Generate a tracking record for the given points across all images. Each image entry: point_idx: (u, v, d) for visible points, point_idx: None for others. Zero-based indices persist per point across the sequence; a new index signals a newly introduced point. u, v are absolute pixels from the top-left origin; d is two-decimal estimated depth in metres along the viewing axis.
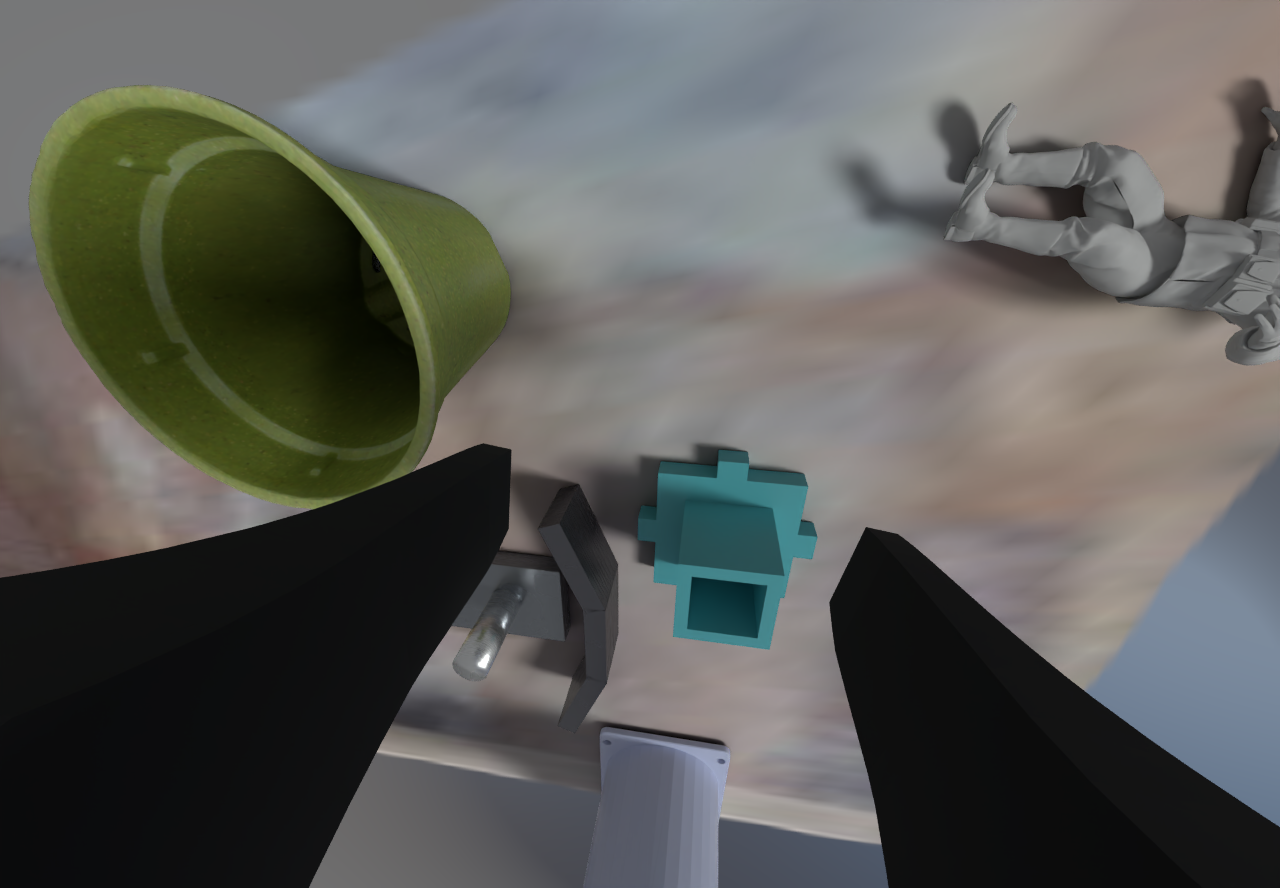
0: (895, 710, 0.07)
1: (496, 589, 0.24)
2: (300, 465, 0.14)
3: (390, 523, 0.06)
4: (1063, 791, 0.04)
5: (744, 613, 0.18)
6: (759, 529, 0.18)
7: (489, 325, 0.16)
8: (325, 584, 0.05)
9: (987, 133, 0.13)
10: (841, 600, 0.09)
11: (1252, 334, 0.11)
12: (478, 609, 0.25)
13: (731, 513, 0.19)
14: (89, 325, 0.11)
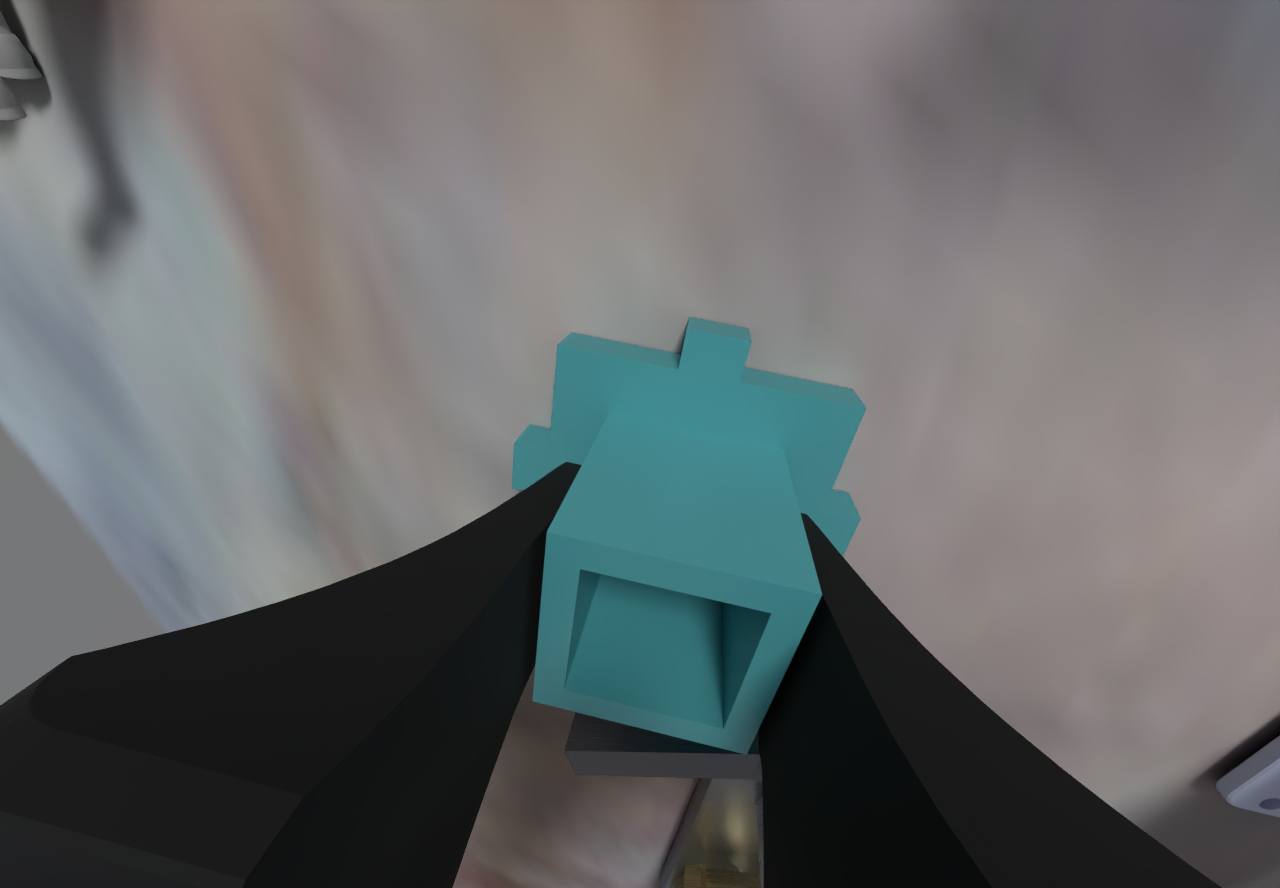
0: (781, 683, 0.07)
1: (754, 809, 0.15)
2: None
3: (518, 553, 0.06)
4: (875, 745, 0.04)
5: None
6: None
7: None
8: (481, 622, 0.05)
9: None
10: None
11: None
12: None
13: None
14: None
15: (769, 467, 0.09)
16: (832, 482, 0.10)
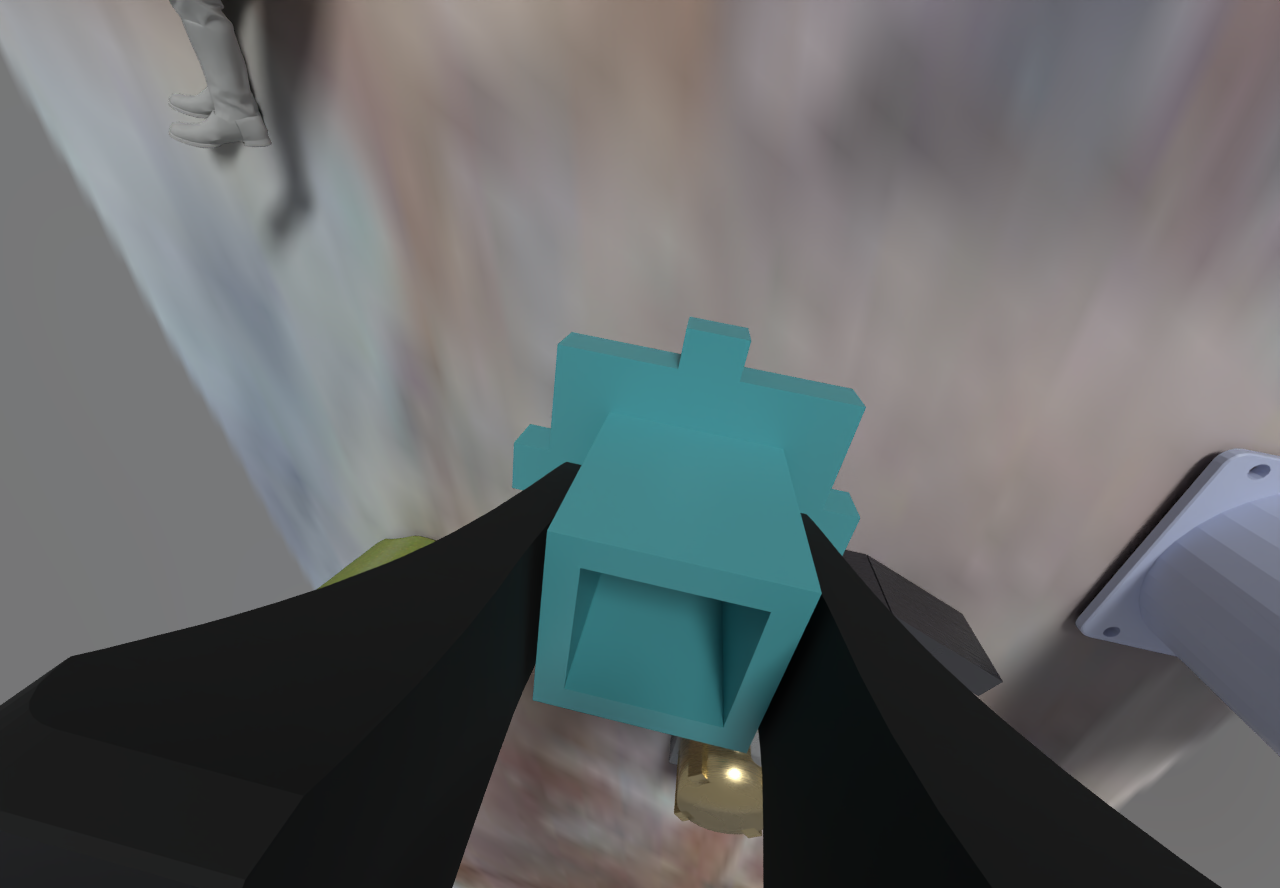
0: (781, 683, 0.07)
1: None
2: None
3: (517, 553, 0.06)
4: (874, 744, 0.04)
5: None
6: None
7: None
8: (481, 622, 0.05)
9: (200, 117, 0.14)
10: None
11: None
12: None
13: None
14: None
15: (769, 466, 0.09)
16: (832, 481, 0.10)
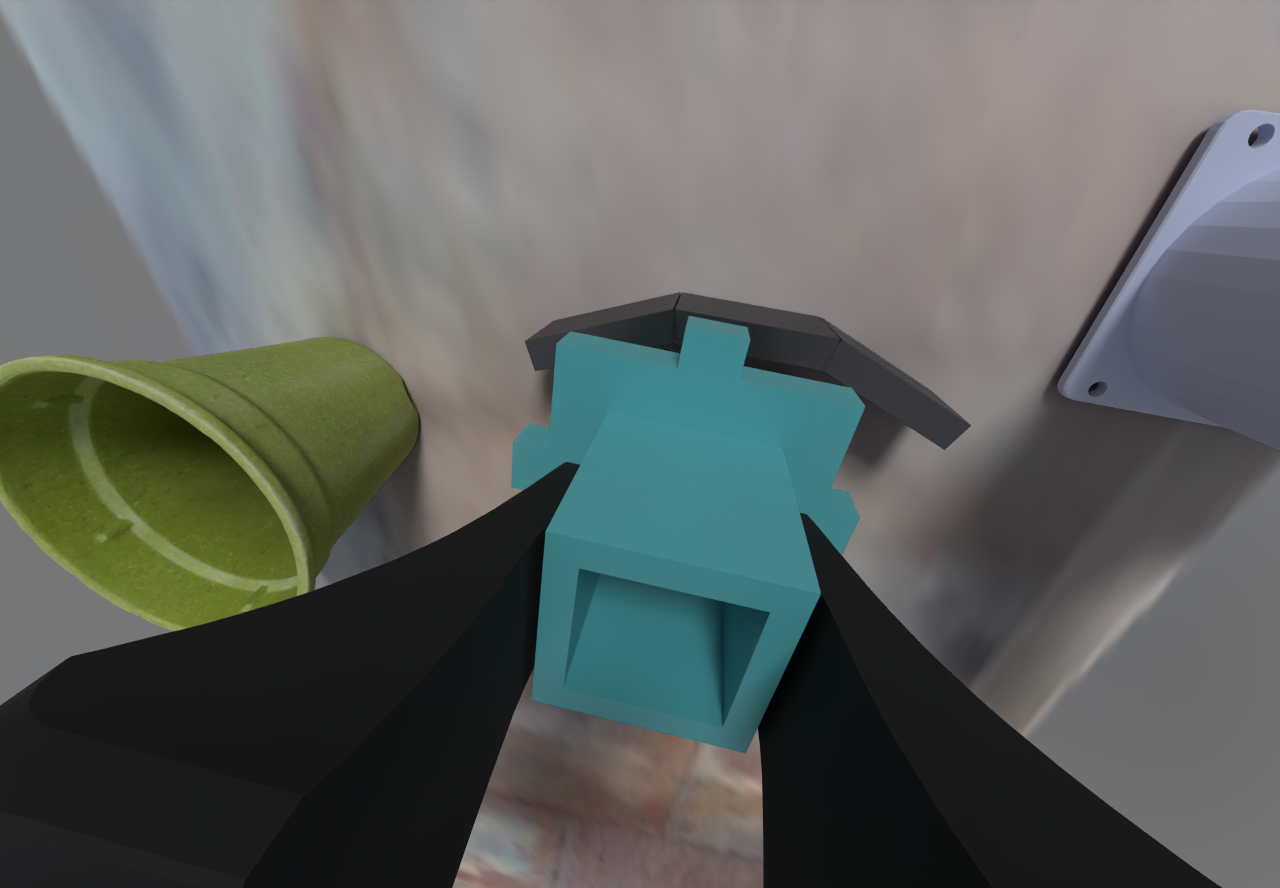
0: (781, 683, 0.07)
1: None
2: None
3: (518, 553, 0.06)
4: (874, 744, 0.04)
5: None
6: None
7: (313, 355, 0.17)
8: (481, 622, 0.05)
9: None
10: None
11: None
12: None
13: None
14: (200, 624, 0.15)
15: (768, 466, 0.09)
16: (831, 481, 0.10)
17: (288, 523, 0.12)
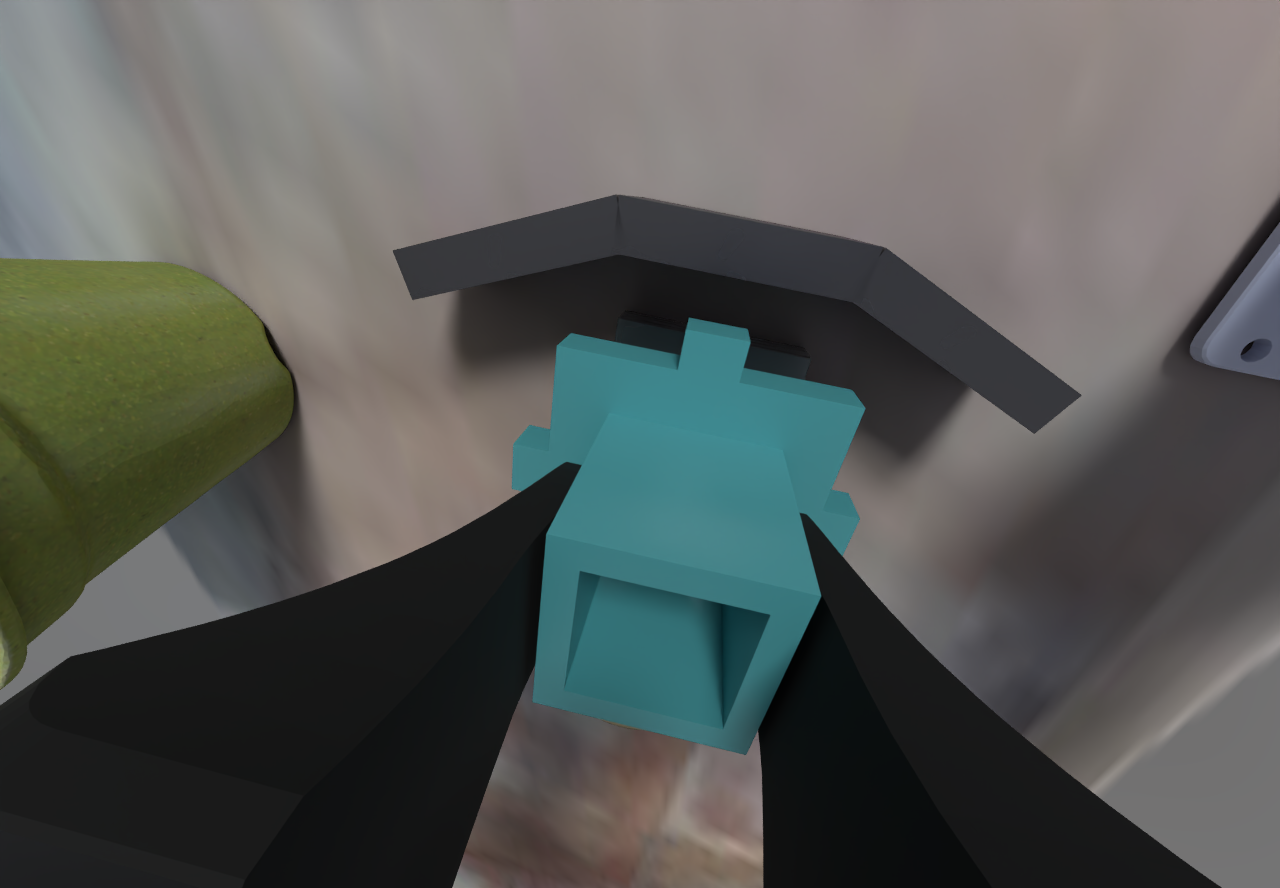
0: (781, 683, 0.07)
1: None
2: None
3: (517, 553, 0.06)
4: (875, 745, 0.04)
5: None
6: None
7: (99, 274, 0.11)
8: (481, 622, 0.05)
9: None
10: None
11: None
12: None
13: None
14: None
15: (768, 468, 0.09)
16: (831, 482, 0.10)
17: None
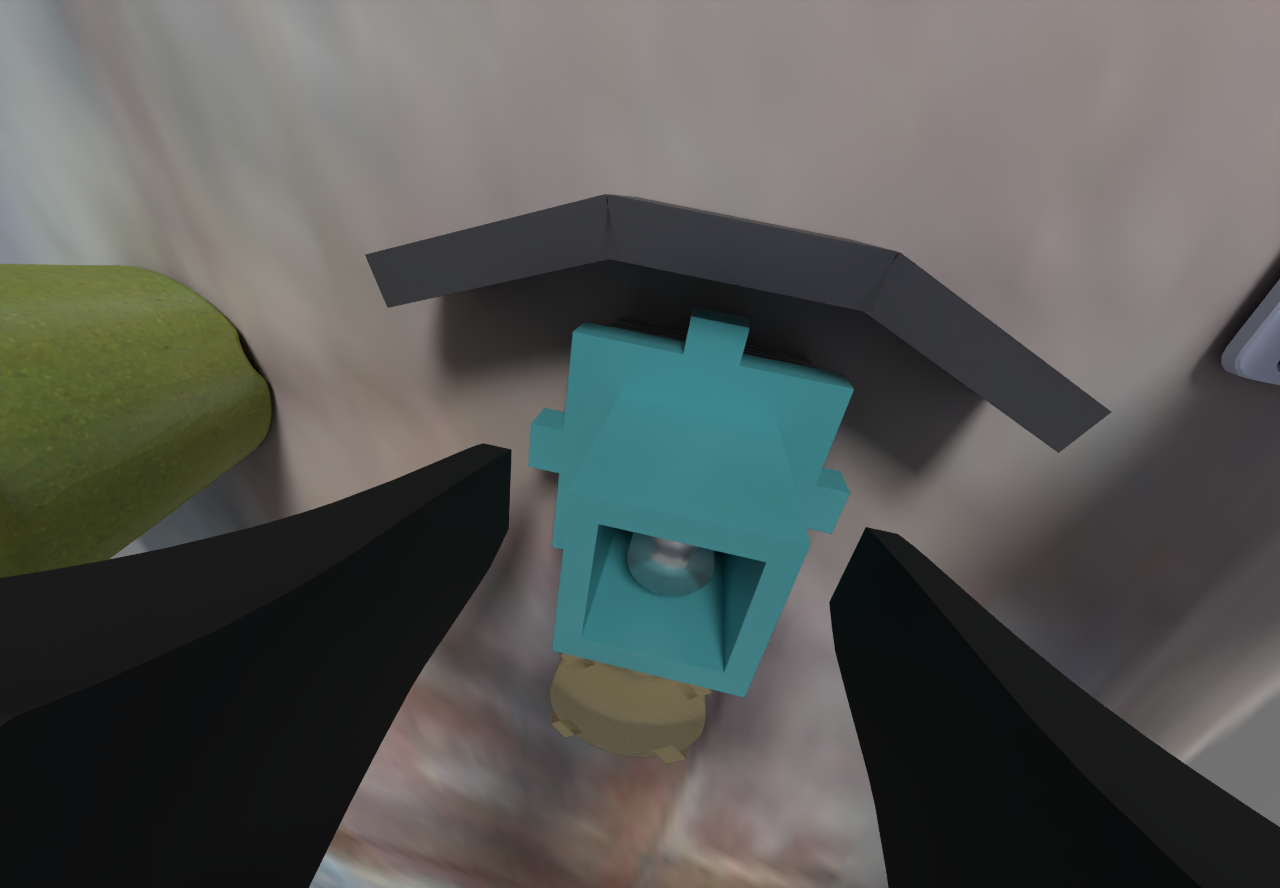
0: (895, 710, 0.07)
1: None
2: None
3: (390, 523, 0.06)
4: (1063, 791, 0.04)
5: None
6: None
7: (54, 280, 0.11)
8: (325, 584, 0.05)
9: None
10: (841, 600, 0.09)
11: None
12: None
13: None
14: None
15: (766, 443, 0.10)
16: (823, 459, 0.10)
17: None
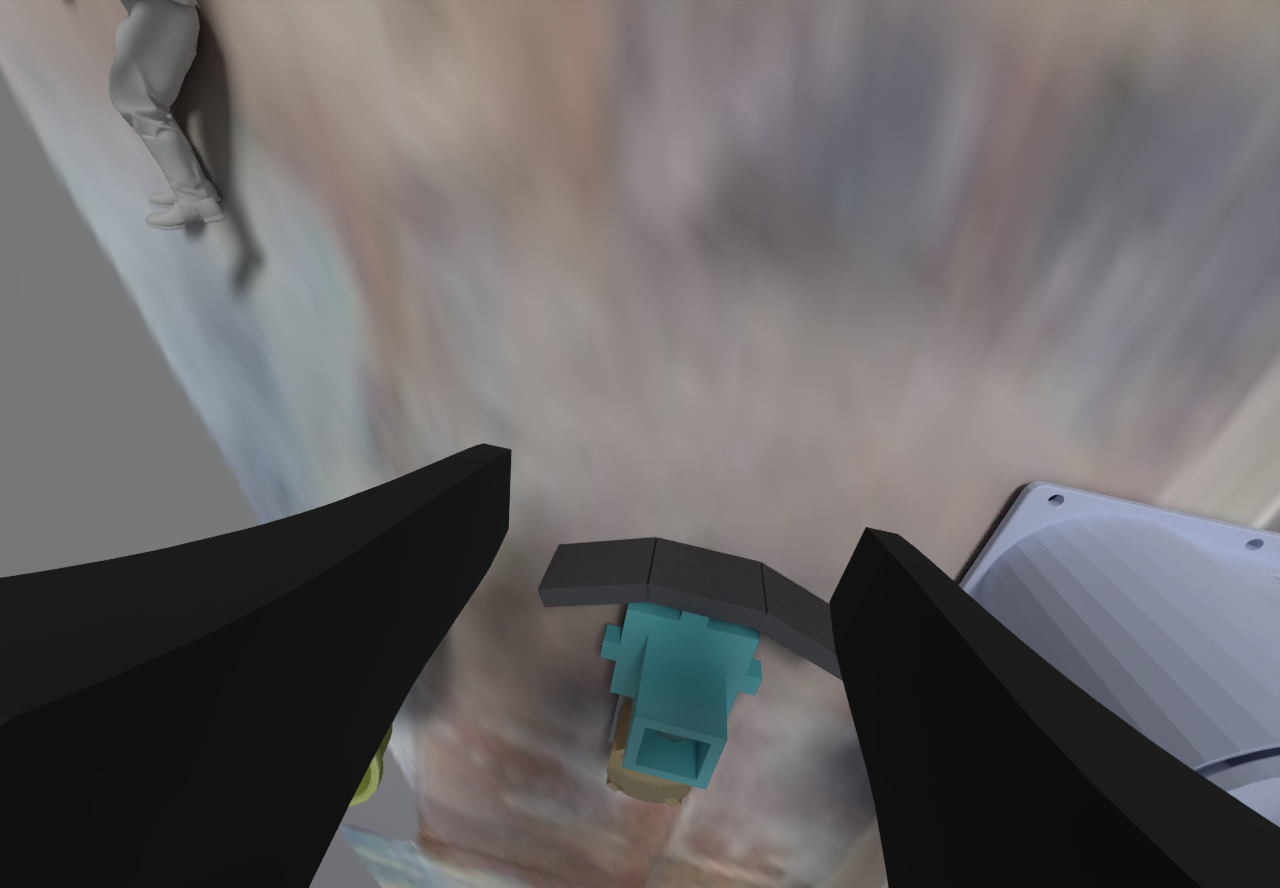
0: (895, 710, 0.07)
1: None
2: None
3: (390, 523, 0.06)
4: (1063, 791, 0.04)
5: None
6: (641, 671, 0.21)
7: None
8: (325, 584, 0.05)
9: None
10: (841, 600, 0.09)
11: None
12: None
13: (640, 668, 0.22)
14: None
15: (717, 666, 0.21)
16: (748, 665, 0.22)
17: None
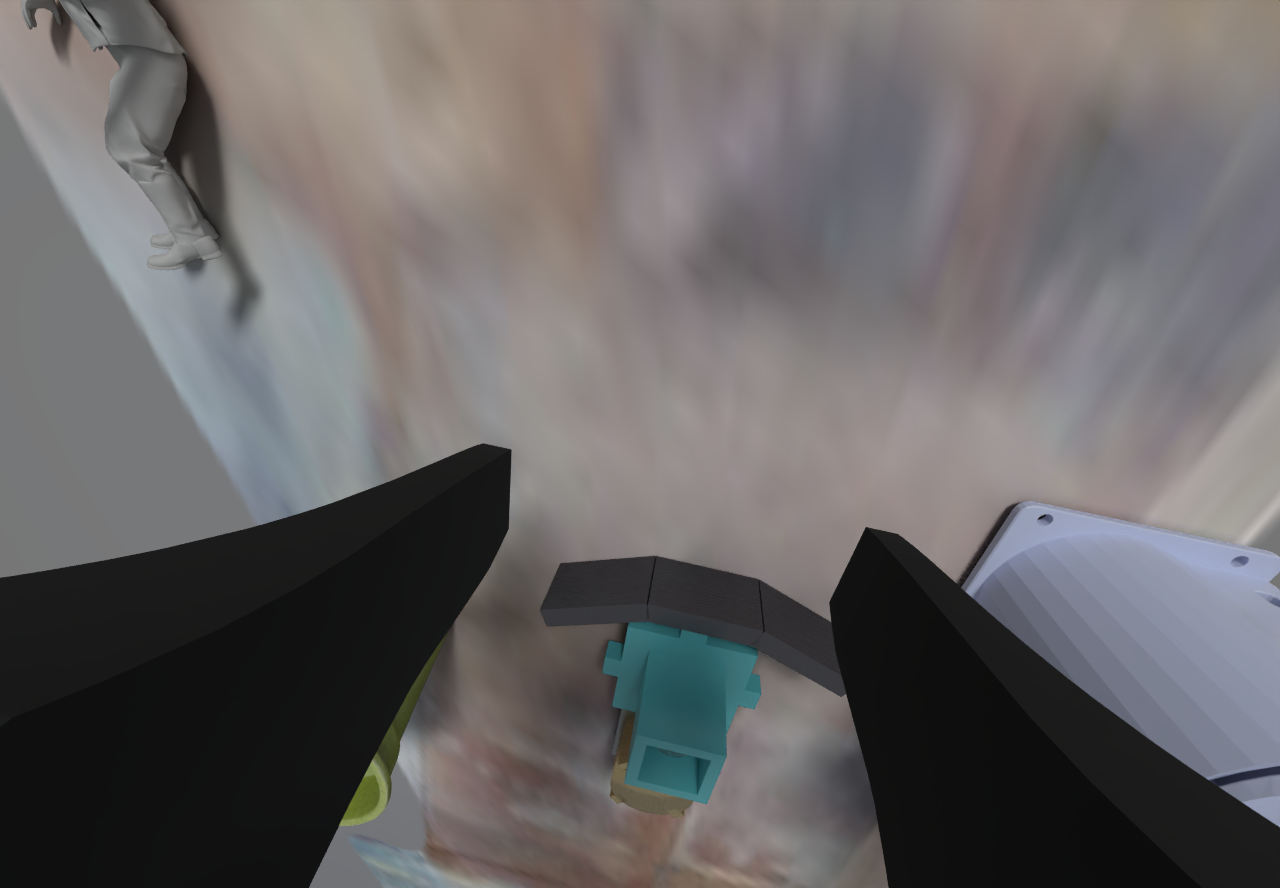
0: (895, 710, 0.07)
1: None
2: None
3: (390, 523, 0.06)
4: (1064, 791, 0.04)
5: None
6: (642, 688, 0.21)
7: None
8: (325, 584, 0.05)
9: None
10: (841, 600, 0.09)
11: None
12: None
13: (642, 684, 0.22)
14: None
15: (717, 683, 0.21)
16: (747, 680, 0.22)
17: (378, 774, 0.18)
